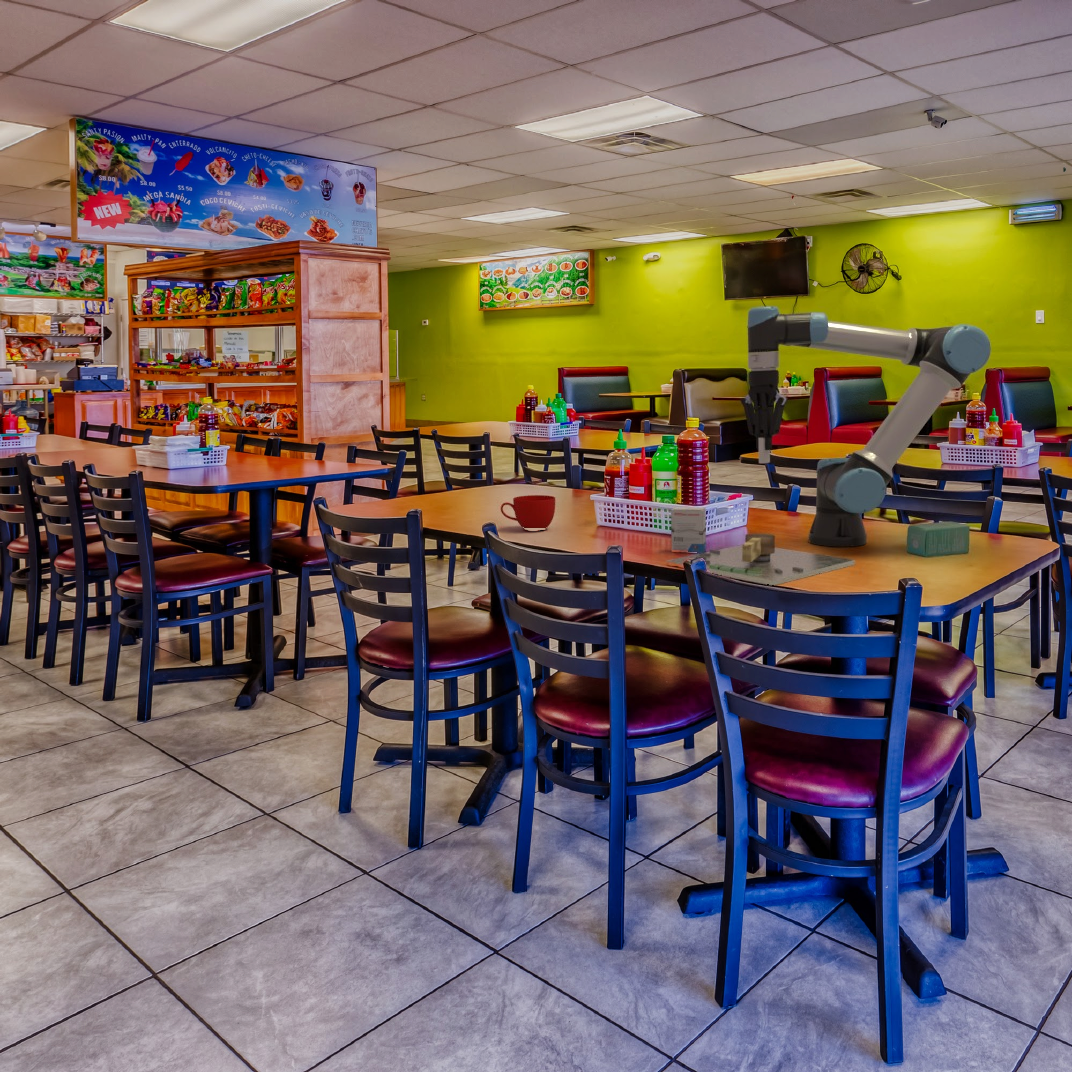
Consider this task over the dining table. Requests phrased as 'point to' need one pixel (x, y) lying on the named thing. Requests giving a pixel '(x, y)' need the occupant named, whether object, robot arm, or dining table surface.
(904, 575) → the dining table surface
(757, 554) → the dial
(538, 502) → the ceramic cup
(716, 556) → the tuner plate
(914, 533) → the box
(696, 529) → the ink box
